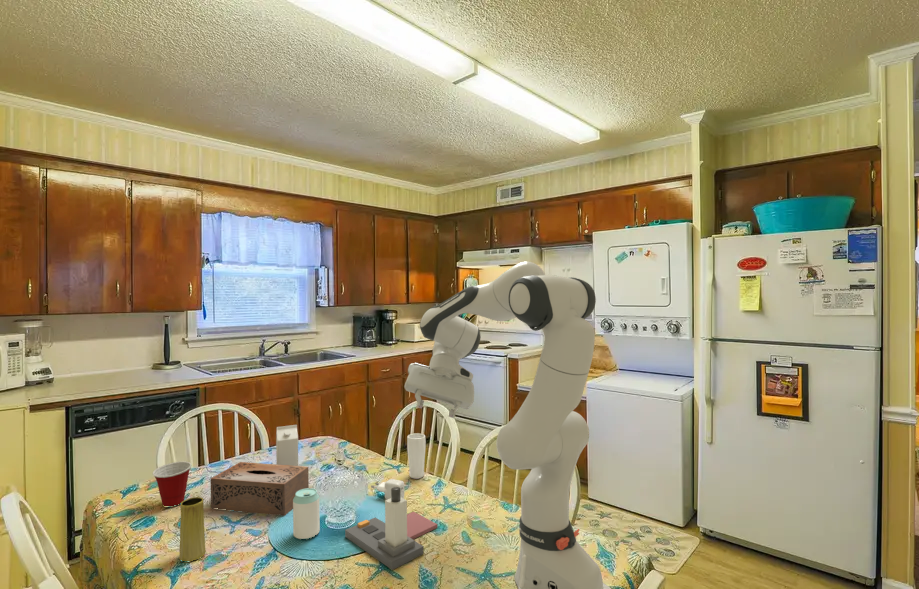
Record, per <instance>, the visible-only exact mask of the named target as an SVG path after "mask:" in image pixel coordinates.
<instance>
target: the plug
mask: <svg viewBox="0 0 919 589" xmlns="http://www.w3.org/2000/svg"><path fill="white" fill-rule="evenodd" d="M407 501H408V500H407V499H405V498H401V493H400V487H393V488H391V498H390V499H388V500H387V499H385V500H384V516H385V517H384V518H385V519H384V520H385V521H384V523H385V542H386V543H388V544H389V545H391V546H392V547H394V548H395V547H397V546H399V545H401V544H403V543H405V542H407V514H408V503H407Z"/></svg>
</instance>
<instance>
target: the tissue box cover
mask: <svg viewBox="0 0 919 589" xmlns="http://www.w3.org/2000/svg"><path fill="white" fill-rule="evenodd" d="M309 479H310V478H309V466H306V465H304V466H303V465H298V466H292V465H277V464H275V463H262V462H261V463H260V462H247V461H240V462H238V463H236V464H234V465H232V466H230V467H229V468H227V469H225V470H223V471H221V472H219V473H218V474H216V475H214V476H212V477H211V478H210V509H211V508H218V509H226V510H225V511H227V510H234V511H233V512H238V511H242V512H241V513H250V514H251V513H252V514H262V515H273V516H284V517H285V516H286V515H287V514H289V513H290V512H292V511H293V499H294V497H295V494H296V492H297V491H299V490H301V489H306V488H310V484H309V482H310V481H309Z"/></svg>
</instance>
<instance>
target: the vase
mask: <svg viewBox="0 0 919 589" xmlns="http://www.w3.org/2000/svg"><path fill="white" fill-rule="evenodd" d="M204 511H205V510H204V498H203V497H201V496H195V497H194V496H193V497H190V498H187V499H184V501H182V502H181V505H180V526H179V557H178V560H179V559H180V560H182V561H193V560H196V559H198V560H200V559H201V558H200V557H202V556H203V555H204V554H205V552H206V553H207V551H206V539H205V538H206V537H205V514H204ZM205 555H206V554H205ZM205 555H204V556H205ZM204 556H203V557H204ZM203 557H202V558H203ZM199 558H200V559H199ZM180 560H179V561H180ZM196 561H197V560H196ZM193 562H194V561H193Z"/></svg>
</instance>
